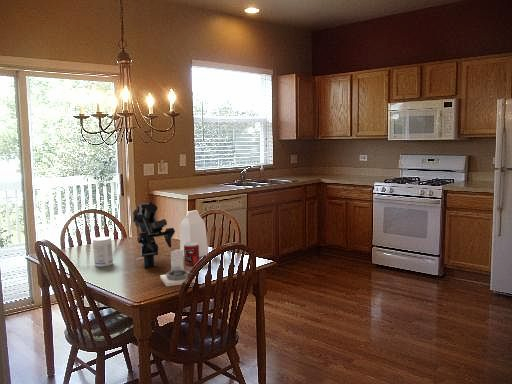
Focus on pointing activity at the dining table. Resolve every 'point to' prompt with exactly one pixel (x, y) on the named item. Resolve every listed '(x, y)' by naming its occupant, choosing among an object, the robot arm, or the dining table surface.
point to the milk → (193, 232)
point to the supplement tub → (102, 251)
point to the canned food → (191, 253)
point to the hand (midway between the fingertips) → (162, 248)
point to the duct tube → (177, 262)
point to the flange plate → (170, 282)
